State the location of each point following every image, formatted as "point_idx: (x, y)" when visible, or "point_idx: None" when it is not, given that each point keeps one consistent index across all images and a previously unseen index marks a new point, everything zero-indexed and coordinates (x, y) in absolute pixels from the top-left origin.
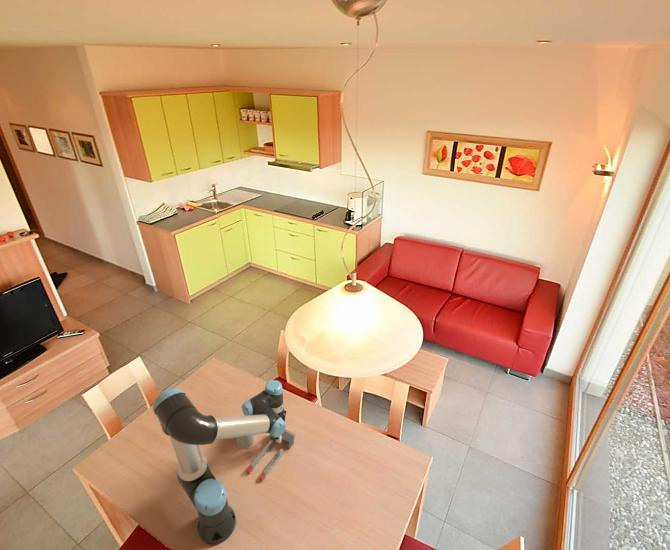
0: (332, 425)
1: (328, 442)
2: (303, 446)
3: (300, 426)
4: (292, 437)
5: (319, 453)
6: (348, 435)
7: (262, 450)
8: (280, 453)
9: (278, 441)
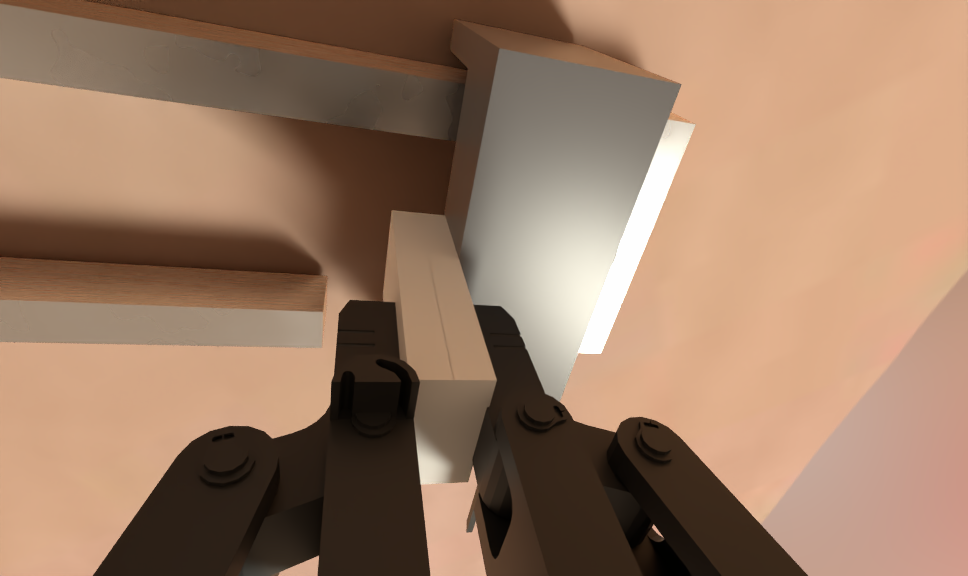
0: (739, 480)
1: None
2: None
3: (727, 293)
4: None
5: (476, 523)
6: None
7: (77, 27)
8: (254, 341)
9: (387, 282)
